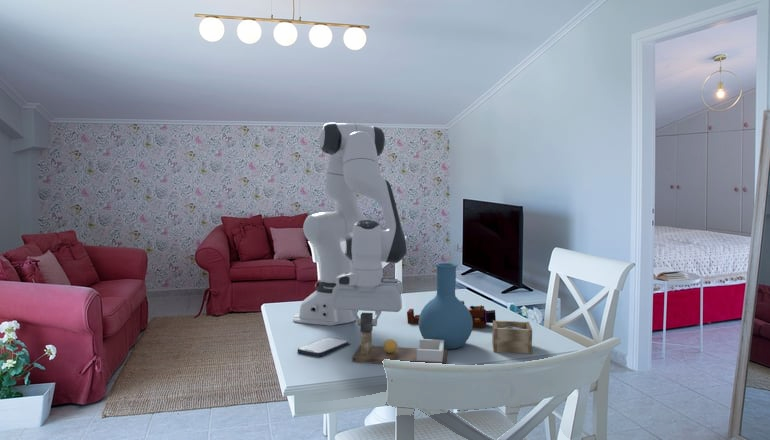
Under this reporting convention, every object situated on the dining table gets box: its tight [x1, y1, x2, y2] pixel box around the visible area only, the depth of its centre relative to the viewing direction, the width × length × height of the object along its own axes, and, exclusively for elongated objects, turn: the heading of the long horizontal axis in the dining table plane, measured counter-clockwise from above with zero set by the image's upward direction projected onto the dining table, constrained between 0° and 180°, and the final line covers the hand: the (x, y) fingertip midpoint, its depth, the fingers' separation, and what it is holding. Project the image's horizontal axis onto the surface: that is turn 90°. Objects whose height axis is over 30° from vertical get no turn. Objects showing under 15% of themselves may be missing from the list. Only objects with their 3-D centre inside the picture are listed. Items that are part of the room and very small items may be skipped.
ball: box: [383, 338, 399, 353], centre depth 167 cm, size 4×4×4 cm
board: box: [351, 344, 448, 365], centre depth 167 cm, size 26×12×1 cm, turn 82°
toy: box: [406, 300, 497, 329], centre depth 205 cm, size 26×7×30 cm
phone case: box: [297, 337, 350, 358], centre depth 175 cm, size 9×2×16 cm
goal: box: [417, 338, 445, 362], centre depth 165 cm, size 7×11×3 cm, turn 172°
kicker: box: [359, 311, 374, 355], centre depth 168 cm, size 3×6×11 cm, turn 172°
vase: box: [418, 262, 473, 350], centre depth 179 cm, size 16×16×25 cm
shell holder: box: [491, 320, 533, 355], centre depth 177 cm, size 11×10×7 cm
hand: (366, 325), depth 167 cm, fingers closed on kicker, 3 cm apart
